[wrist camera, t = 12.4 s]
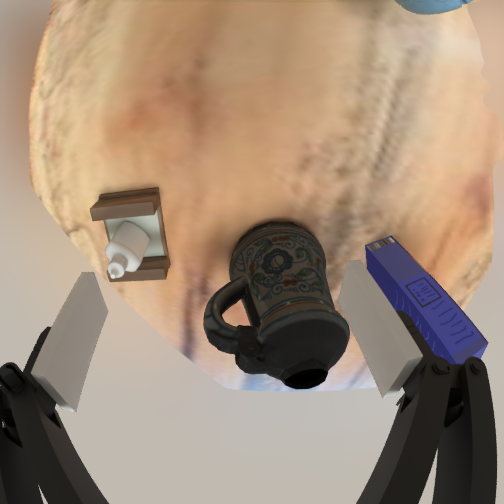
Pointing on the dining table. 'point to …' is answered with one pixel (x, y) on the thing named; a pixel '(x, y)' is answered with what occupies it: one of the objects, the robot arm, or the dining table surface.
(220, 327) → the beer stein
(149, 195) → the u rest
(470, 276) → the dining table surface
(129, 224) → the eye dropper bottle
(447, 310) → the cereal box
